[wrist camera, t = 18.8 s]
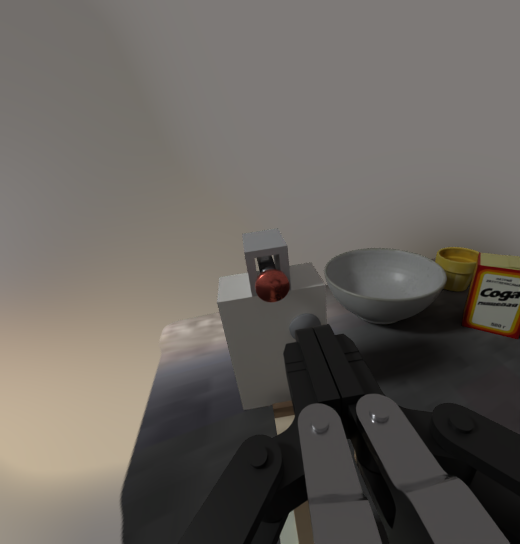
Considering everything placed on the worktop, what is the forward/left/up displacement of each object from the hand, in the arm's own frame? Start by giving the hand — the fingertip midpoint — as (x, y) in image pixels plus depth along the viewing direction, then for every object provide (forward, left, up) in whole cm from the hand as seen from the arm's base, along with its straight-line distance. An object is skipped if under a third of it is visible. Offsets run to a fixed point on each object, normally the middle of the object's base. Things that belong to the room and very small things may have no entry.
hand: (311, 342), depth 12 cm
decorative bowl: (-50, -21, -36) cm, 65 cm away
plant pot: (-73, -11, -36) cm, 82 cm away
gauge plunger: (-15, -21, -11) cm, 28 cm away
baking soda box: (-60, 0, -36) cm, 70 cm away
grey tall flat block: (-16, -22, -36) cm, 45 cm away
